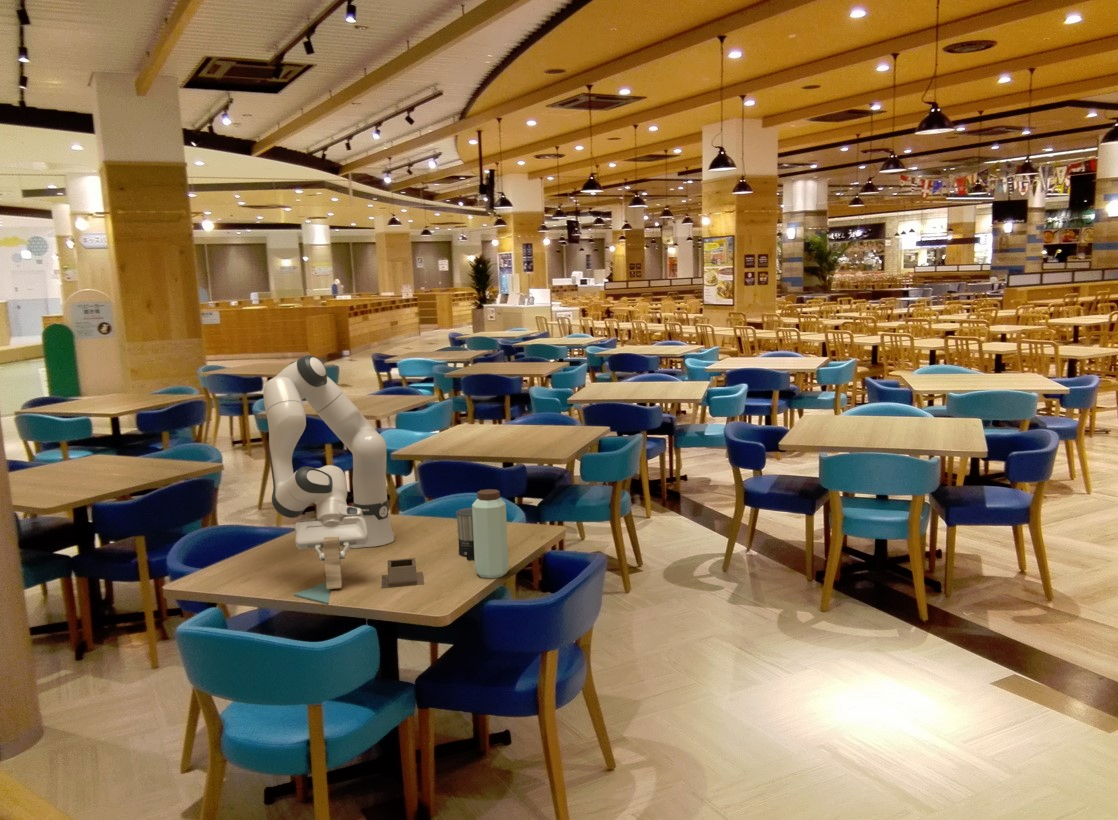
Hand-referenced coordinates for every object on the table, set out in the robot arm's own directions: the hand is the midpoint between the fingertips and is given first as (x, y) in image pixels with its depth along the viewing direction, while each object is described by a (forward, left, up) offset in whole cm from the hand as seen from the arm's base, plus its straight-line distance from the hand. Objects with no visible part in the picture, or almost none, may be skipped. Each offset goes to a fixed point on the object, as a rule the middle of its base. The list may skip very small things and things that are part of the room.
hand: (332, 559), depth 245 cm
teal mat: (0, 0, -10) cm, 10 cm away
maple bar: (0, 0, -8) cm, 8 cm away
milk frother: (+13, +50, -10) cm, 53 cm away
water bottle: (+30, +34, -10) cm, 46 cm away
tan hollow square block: (+12, +15, -10) cm, 22 cm away
